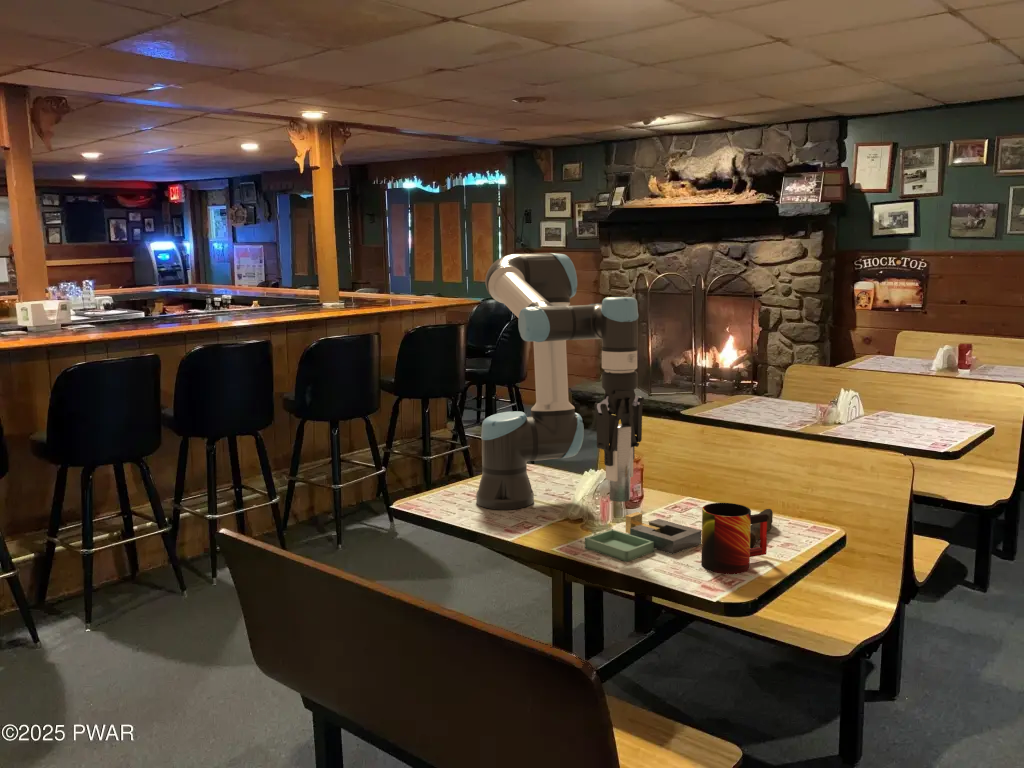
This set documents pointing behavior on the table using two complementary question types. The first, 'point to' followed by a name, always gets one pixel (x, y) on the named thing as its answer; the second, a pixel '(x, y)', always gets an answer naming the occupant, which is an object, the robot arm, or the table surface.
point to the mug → (730, 537)
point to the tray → (619, 545)
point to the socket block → (668, 536)
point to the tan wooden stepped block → (637, 522)
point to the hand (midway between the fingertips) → (619, 477)
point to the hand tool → (756, 528)
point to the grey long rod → (622, 465)
